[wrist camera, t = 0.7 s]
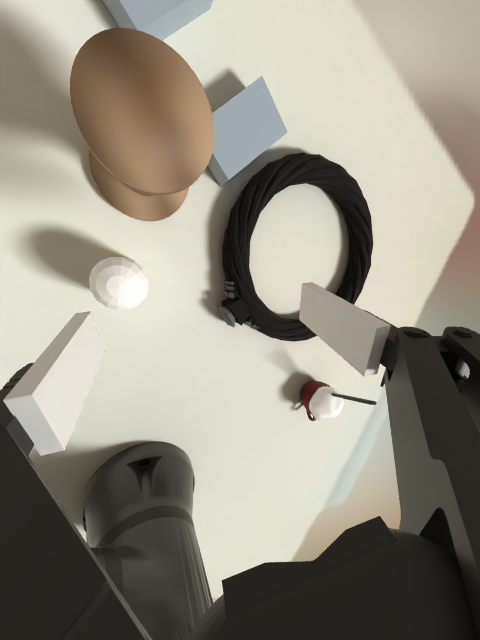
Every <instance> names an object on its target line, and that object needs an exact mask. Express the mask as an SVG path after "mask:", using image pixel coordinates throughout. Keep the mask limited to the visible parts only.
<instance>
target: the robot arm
mask: <svg viewBox="0 0 480 640" xmlns="http://www.w3.org/2000/svg"><path fill="white" fill-rule="evenodd" d="M299 320H300V321H301V322H303V323H304V324H305V325H306V326H307V327H308V328H309V329H311V330H312V331H313V332H314V333H315V334H316V335H317V336H318V337H320V338H321V339H322V340H323V341H324V342H325V343H326V344H328V345H329V346H330V347H331V348H332V349H333V350H334V351H335V352H337V353H338V354H339V355H340V356H341V357H342V358H343V359H345V360H346V361H347V362H348V363H349V364H350V365H351V366H352V367H354V368H355V369H356V370H357V371H358V372H359V373H360V374H362V375H363V376H364V377H365V376H369V375H373V374H377V372H378V368H379V365H380V364H382V365H383V366H384V367H386V369H385V373H384V376H383V379H382V382H381V387H383V385H384V384H385V386H386V394H387V402H388V410H389V418H390V427H391V435H392V443H393V451H394V459H395V467H396V475H397V483H398V492H399V500H400V507H401V521H400V527H399V530H398V529H391V528H388V527H387V526H386V524H385V523H384V521H383V520H382V519H381V517H380V516H378V517H376V518H374V519H371V520H369V521H366V522H364V523H361V524H359V525H356V526H354V527H352V528H349V529H347V530H345V531H344V532H343V533H342V534H341V535H340V536H339V537H338V538H337V539H336V540H335V541H334V542H333V543H332V544H331V545H330V546H329V547H328V548H327V549H326V550H325V551H324V552H323V553H322V554H321V555H320V556H319V557H318V558H317V559H315V560H313V561H305V562H269V563H263V564H261V565H258V566H256V567H254V568H251V569H249V570H246V571H244V572H241V573H239V574H236V575H234V576H232V577H229V578H227V579H224V580H222V586H223V593H224V594H223V595H222V596H221V597H220V598H218V599H217V600H216V601H215V602H214V603H213V601H212V597H211V593H210V589H209V585H208V581H207V577H206V573H205V569H204V565H203V561H202V557H201V553H200V549H199V545H198V541H197V537H196V533H195V529H194V524H193V520H192V508H193V492H194V485H195V478H194V472H193V468H192V465H191V462H190V459H189V457H188V456H187V454H186V453H185V452H184V451H183V450H181V449H180V448H178V447H176V446H174V445H171V444H167V443H146V444H141V445H137V446H134V447H131V448H129V449H126V450H124V451H122V452H120V453H119V454H117V455H115V456H114V457H112V458H111V459H109V460H108V461H107V462H106V463H104V464H103V465H102V466H101V467H100V468H99V469H98V470H97V472H96V473H95V474H94V475H93V477H92V478H91V480H90V482H89V484H88V486H87V488H86V491H85V495H84V501H83V506H82V523H83V527H84V530H85V531H86V539H87V543H86V541H85V540H84V539H83V537H82V536H81V534H80V533H79V531H78V530H77V528H76V527H75V525H74V524H73V522H72V521H71V519H70V518H69V516H68V515H67V513H66V512H65V510H64V509H63V507H62V506H61V505H60V503H59V502H58V500H57V499H56V497H55V496H54V494H53V493H52V491H51V490H50V488H49V487H48V485H47V484H46V482H45V481H44V479H43V478H42V476H41V475H40V474H39V472H38V471H37V469H36V468H35V466H34V465H33V463H32V462H31V460H30V459H29V458H28V455H29V453H30V451H31V450H32V448H33V446H34V447H35V448H36V450H37V451H38V453H39V454H40V456H43V455H47V454H51V453H55V452H59V451H63V450H65V448H66V446H67V443H68V441H69V439H70V436H71V434H72V431H73V429H74V427H75V424H76V422H77V419H78V417H79V415H80V412H81V410H82V407H83V405H84V403H85V400H86V398H87V396H88V393H89V391H90V388H91V386H92V384H93V381H94V379H95V376H96V374H97V372H98V369H99V367H100V364H101V362H102V360H103V357H104V355H105V352H106V351H105V349H104V346H103V343H102V340H101V338H100V335H99V332H98V329H97V327H96V324H95V321H94V318H93V316H92V313H91V312H83V313H76V314H75V315H74V316H73V317H72V319H71V320H70V321H69V322H68V323H67V325H66V326H65V327H64V328H63V329H62V330H61V332H60V333H59V334H58V335H57V336H56V338H55V339H54V340H53V341H52V342H51V344H50V345H49V346H48V347H47V348H46V350H45V351H44V352H43V353H42V354H41V356H40V357H39V358H38V359H37V360H36V362H35V363H29V364H27V365H26V366H25V367H23V368H22V369H20V370H19V371H17V372H16V373H15V374H14V375H13V377H12V378H11V379H10V380H9V382H7V383H6V384H5V386H4V387H3V389H1V390H0V640H480V334H478V333H477V332H475V331H472V330H470V329H468V328H464V327H447V328H445V330H444V332H443V335H442V336H431V335H430V334H429V333H427V332H426V331H424V330H421V329H418V328H414V327H400V328H397V327H395V326H394V325H392V324H390V323H388V322H386V321H384V320H382V319H380V318H379V317H377V316H374V315H373V314H371V313H370V312H368V311H365V310H362V309H360V308H358V307H357V306H355V305H353V304H351V303H349V302H347V301H346V300H344V299H342V298H340V297H338V296H336V295H335V294H333V293H331V292H329V291H327V290H325V289H324V288H322V287H320V286H318V285H316V284H314V283H313V282H311V283H303V284H302V291H301V303H300V314H299ZM468 367H469V369H470V375H469V378H467V377H466V376H465V375H464V374H465V372H466V371H467V368H468Z"/></svg>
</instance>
